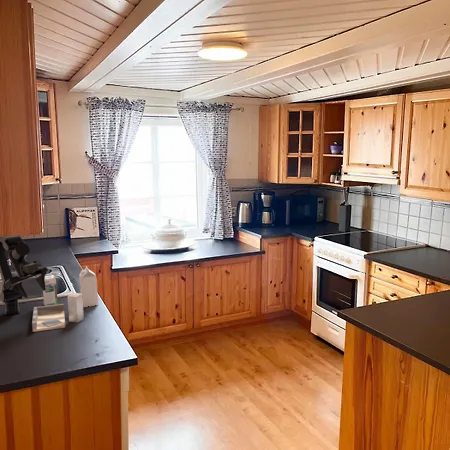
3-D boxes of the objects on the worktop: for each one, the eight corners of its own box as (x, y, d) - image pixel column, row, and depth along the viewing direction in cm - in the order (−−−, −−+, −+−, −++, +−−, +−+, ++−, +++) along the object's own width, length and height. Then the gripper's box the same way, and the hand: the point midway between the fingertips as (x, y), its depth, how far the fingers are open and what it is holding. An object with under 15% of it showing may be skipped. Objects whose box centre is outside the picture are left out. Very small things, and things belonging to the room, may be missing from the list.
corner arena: (34, 315, 212) (33, 307, 211) (64, 311, 216) (63, 303, 215) (32, 331, 193) (32, 322, 192) (65, 327, 198) (64, 318, 197)
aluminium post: (69, 321, 204) (67, 295, 202) (75, 317, 209) (73, 292, 206) (77, 322, 203) (76, 296, 201) (83, 318, 207) (82, 293, 205)
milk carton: (95, 301, 230) (93, 264, 227) (98, 305, 224) (96, 268, 221) (80, 303, 227) (78, 266, 224) (83, 307, 221) (80, 270, 218)
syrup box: (45, 308, 221) (43, 279, 219) (43, 304, 226) (41, 276, 224) (58, 305, 224) (55, 277, 221) (55, 302, 229) (53, 274, 226)
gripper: (8, 262, 188) (26, 295, 187) (46, 249, 204) (62, 280, 203) (-3, 272, 194) (13, 304, 193) (34, 259, 210) (50, 289, 209)
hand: (36, 294), depth 199 cm, fingers open, 9 cm apart
